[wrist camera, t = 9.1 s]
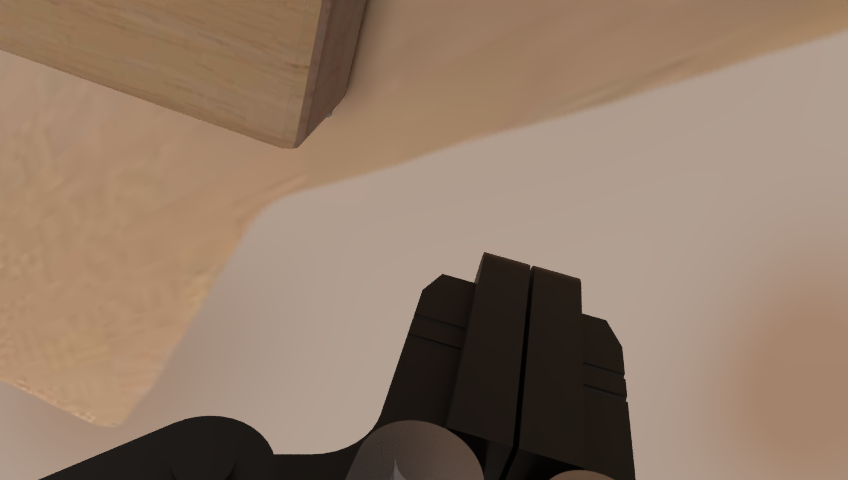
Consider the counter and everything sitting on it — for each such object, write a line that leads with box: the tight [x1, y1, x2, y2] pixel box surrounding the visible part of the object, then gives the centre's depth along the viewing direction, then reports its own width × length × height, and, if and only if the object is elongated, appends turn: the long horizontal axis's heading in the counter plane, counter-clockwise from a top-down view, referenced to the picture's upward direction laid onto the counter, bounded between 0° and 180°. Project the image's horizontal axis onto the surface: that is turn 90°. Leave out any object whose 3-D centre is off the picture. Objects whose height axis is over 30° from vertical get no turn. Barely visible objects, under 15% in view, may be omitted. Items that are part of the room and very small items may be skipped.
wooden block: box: [0, 0, 366, 149], centre depth 39 cm, size 10×10×20 cm
